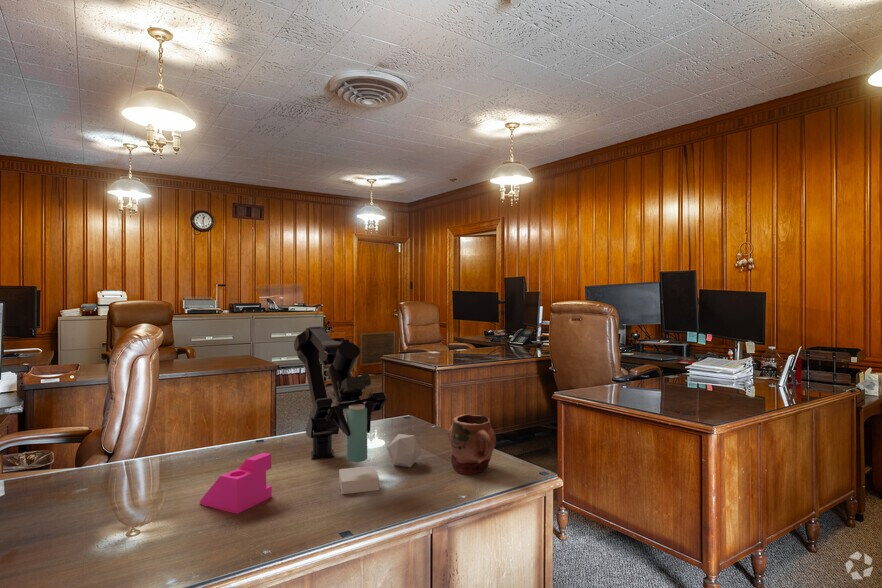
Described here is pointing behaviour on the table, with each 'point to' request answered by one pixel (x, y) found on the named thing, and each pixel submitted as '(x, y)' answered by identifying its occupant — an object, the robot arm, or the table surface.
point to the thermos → (357, 433)
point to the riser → (358, 479)
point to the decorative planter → (471, 443)
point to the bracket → (241, 486)
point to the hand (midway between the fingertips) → (359, 433)
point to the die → (404, 450)
